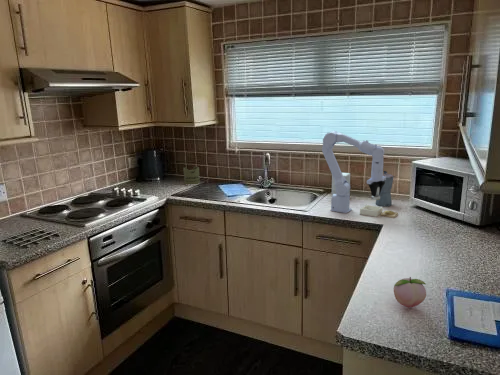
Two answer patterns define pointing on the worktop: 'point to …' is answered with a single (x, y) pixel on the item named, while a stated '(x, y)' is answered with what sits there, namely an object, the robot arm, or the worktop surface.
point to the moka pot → (386, 191)
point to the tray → (371, 210)
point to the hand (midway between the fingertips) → (375, 195)
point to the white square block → (345, 175)
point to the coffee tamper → (376, 195)
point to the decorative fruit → (409, 292)
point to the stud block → (389, 214)
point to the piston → (191, 176)
